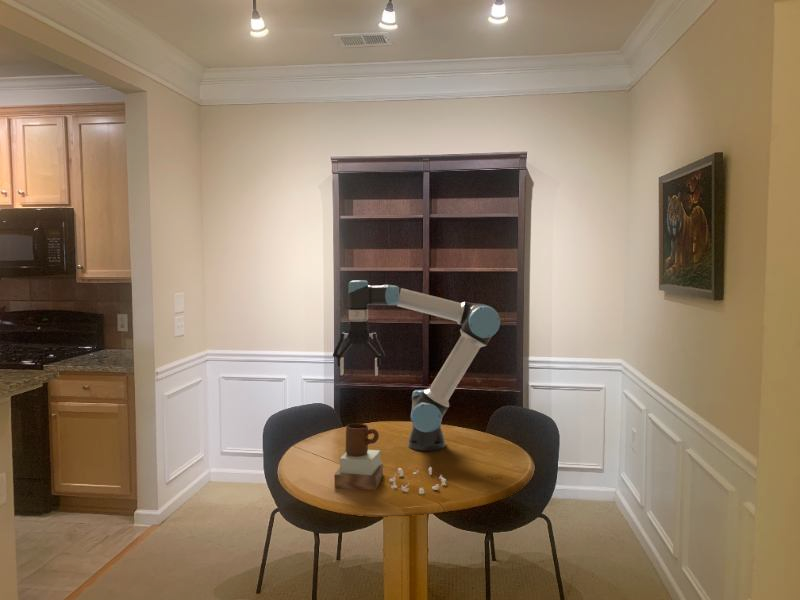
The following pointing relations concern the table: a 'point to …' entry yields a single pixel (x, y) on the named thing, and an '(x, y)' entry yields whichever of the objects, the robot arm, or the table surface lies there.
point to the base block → (359, 479)
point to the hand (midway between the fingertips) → (359, 375)
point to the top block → (360, 463)
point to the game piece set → (408, 484)
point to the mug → (359, 439)
